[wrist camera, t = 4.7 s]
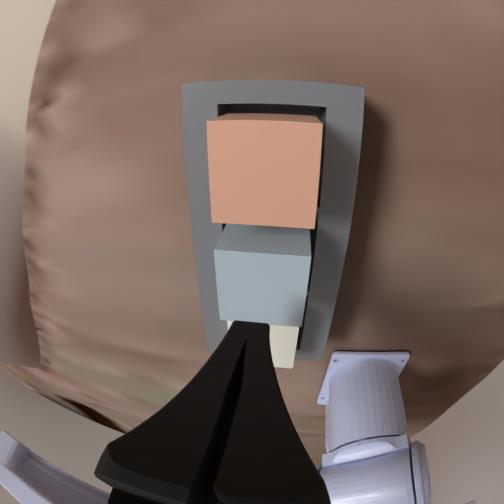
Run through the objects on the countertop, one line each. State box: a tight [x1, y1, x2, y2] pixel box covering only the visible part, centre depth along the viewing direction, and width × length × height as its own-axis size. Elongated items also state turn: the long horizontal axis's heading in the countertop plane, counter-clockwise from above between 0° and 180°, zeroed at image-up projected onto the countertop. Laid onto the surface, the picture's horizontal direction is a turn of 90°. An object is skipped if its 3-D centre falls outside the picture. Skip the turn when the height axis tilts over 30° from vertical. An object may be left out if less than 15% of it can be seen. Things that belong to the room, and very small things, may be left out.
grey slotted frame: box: [182, 80, 365, 361], centre depth 18 cm, size 19×9×3 cm, turn 0°
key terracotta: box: [206, 113, 323, 229], centre depth 12 cm, size 4×4×4 cm
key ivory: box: [227, 321, 299, 368], centre depth 19 cm, size 4×4×4 cm
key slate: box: [214, 224, 311, 327], centre depth 15 cm, size 4×4×4 cm
